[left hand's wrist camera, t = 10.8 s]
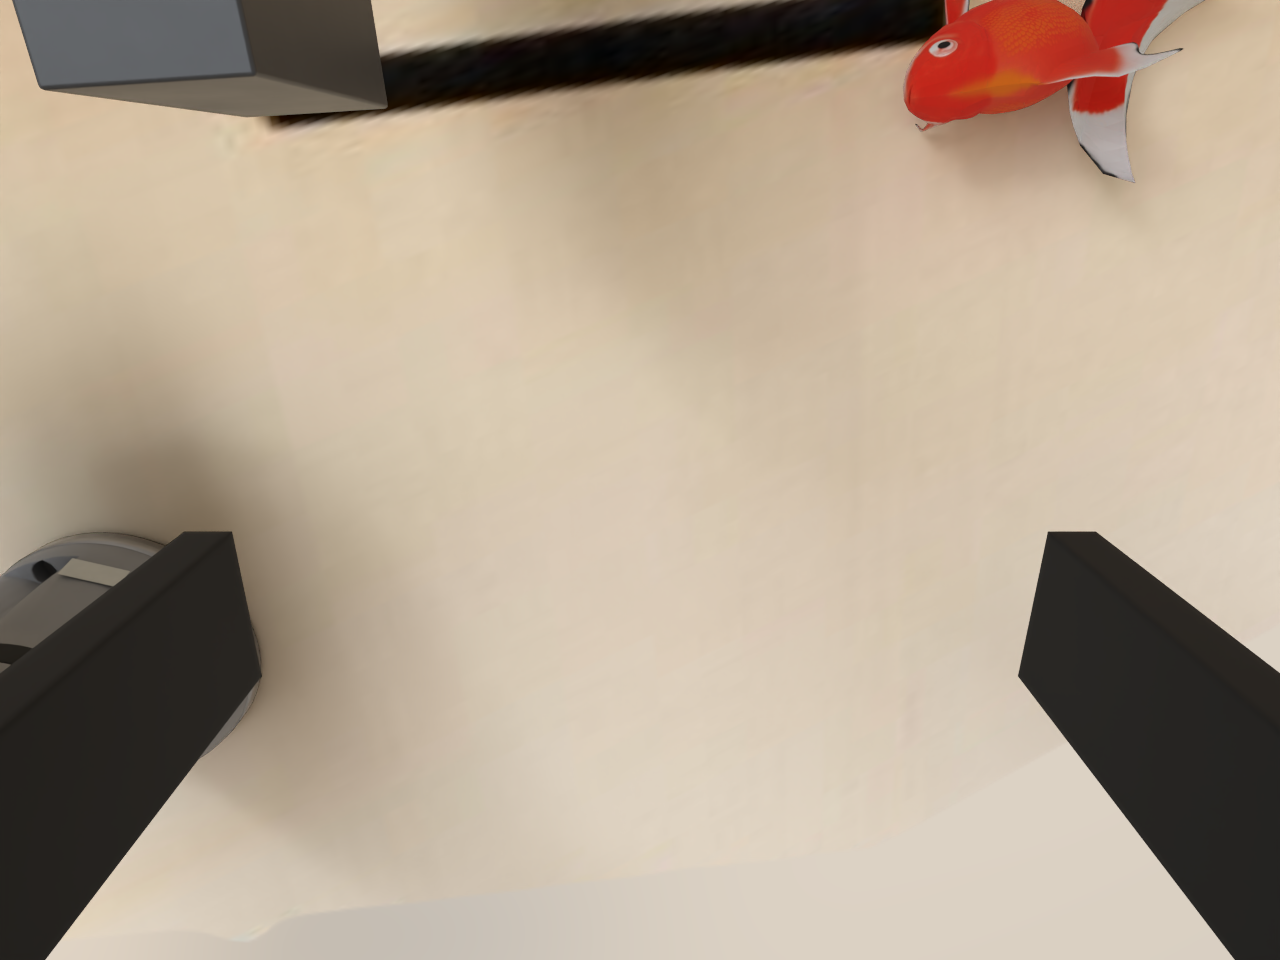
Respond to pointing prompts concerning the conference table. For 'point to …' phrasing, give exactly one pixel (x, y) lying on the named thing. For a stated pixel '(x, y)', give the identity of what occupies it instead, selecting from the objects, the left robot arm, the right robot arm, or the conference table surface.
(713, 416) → the conference table surface
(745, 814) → the conference table surface
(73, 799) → the left robot arm
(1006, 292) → the conference table surface
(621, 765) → the conference table surface
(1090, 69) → the fish
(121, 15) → the bar
